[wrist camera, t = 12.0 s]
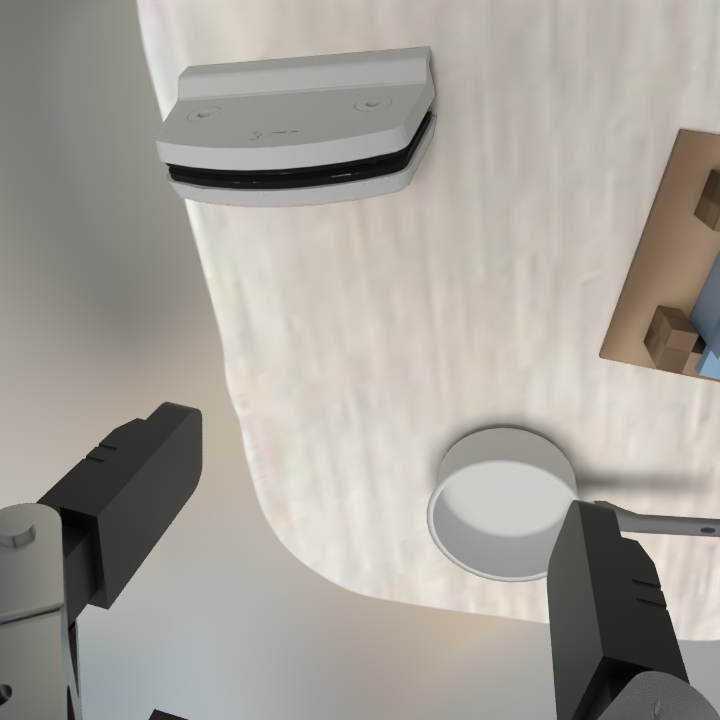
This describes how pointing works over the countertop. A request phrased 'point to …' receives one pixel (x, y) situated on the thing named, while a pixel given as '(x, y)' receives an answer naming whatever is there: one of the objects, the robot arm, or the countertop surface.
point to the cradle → (671, 264)
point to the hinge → (299, 128)
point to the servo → (709, 323)
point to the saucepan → (518, 506)
